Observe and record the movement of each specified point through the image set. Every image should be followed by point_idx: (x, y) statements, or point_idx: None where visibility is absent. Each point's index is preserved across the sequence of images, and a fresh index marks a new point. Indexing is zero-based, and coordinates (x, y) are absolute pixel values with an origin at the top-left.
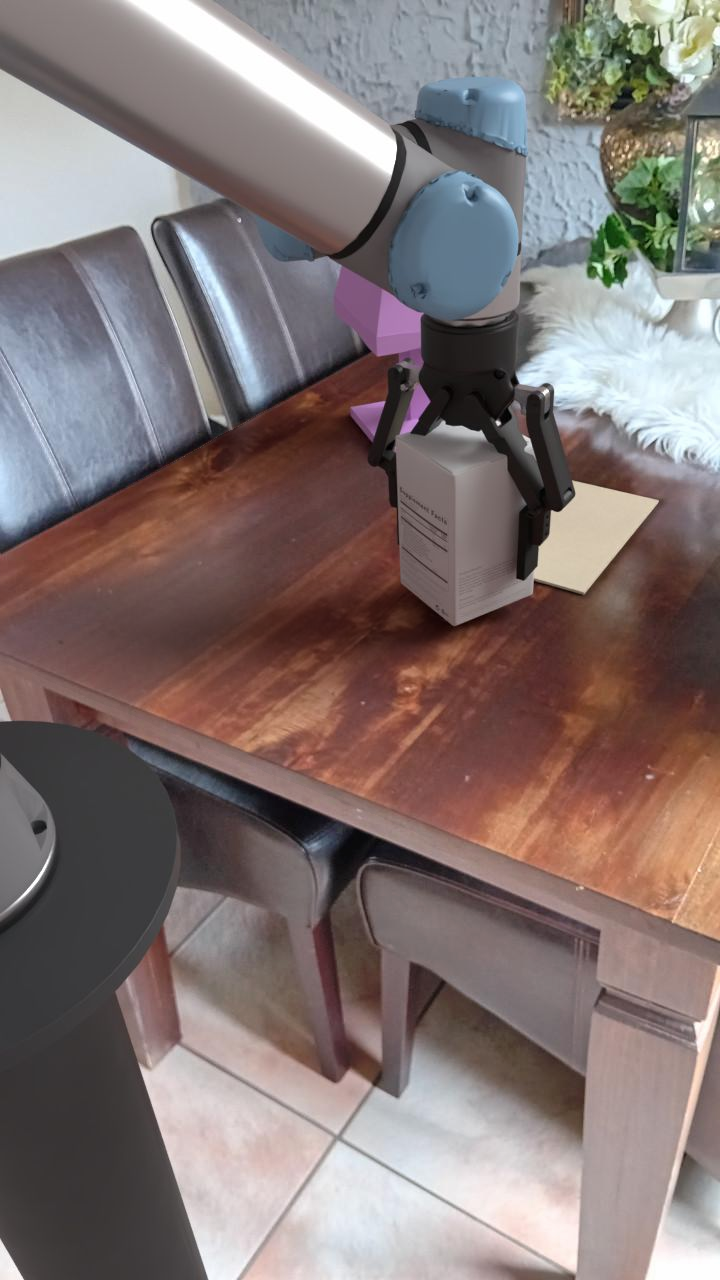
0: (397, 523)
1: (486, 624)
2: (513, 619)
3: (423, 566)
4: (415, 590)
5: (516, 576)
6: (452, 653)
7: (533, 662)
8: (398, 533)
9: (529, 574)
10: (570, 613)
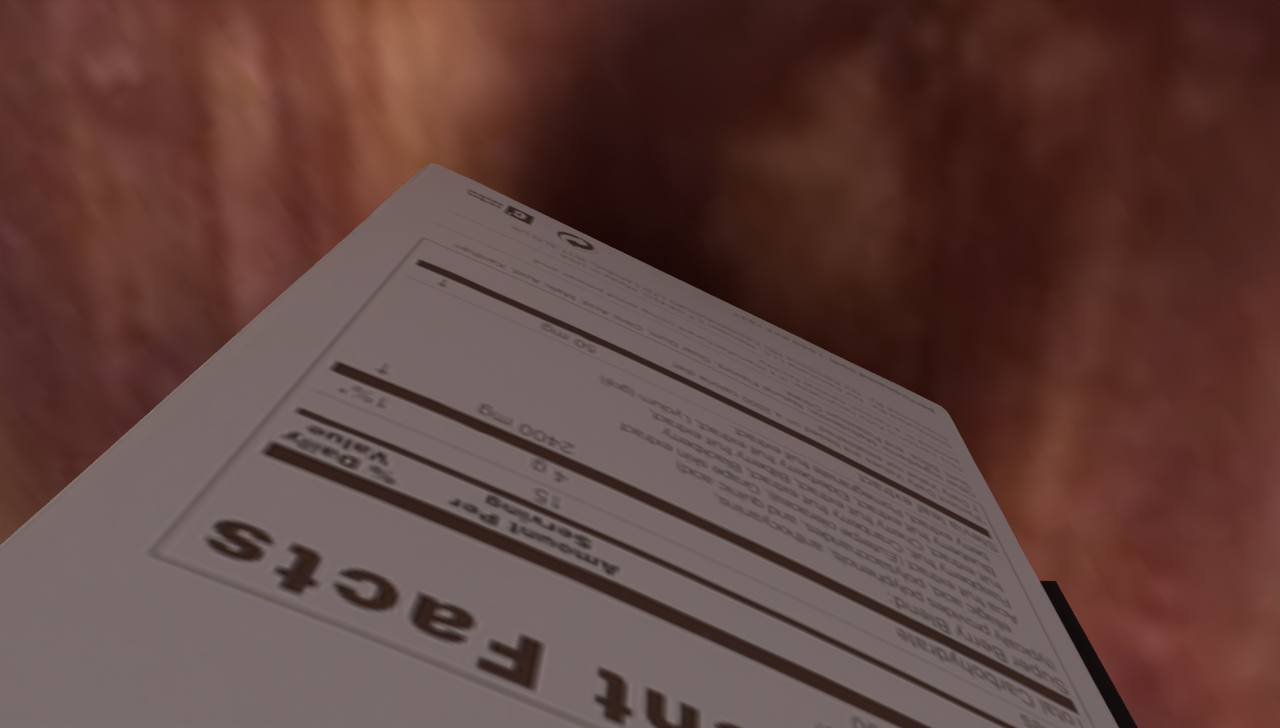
0: (1114, 695)
1: None
2: None
3: (714, 388)
4: (800, 347)
5: None
6: (400, 41)
7: (4, 184)
8: (1076, 638)
9: None
10: None
